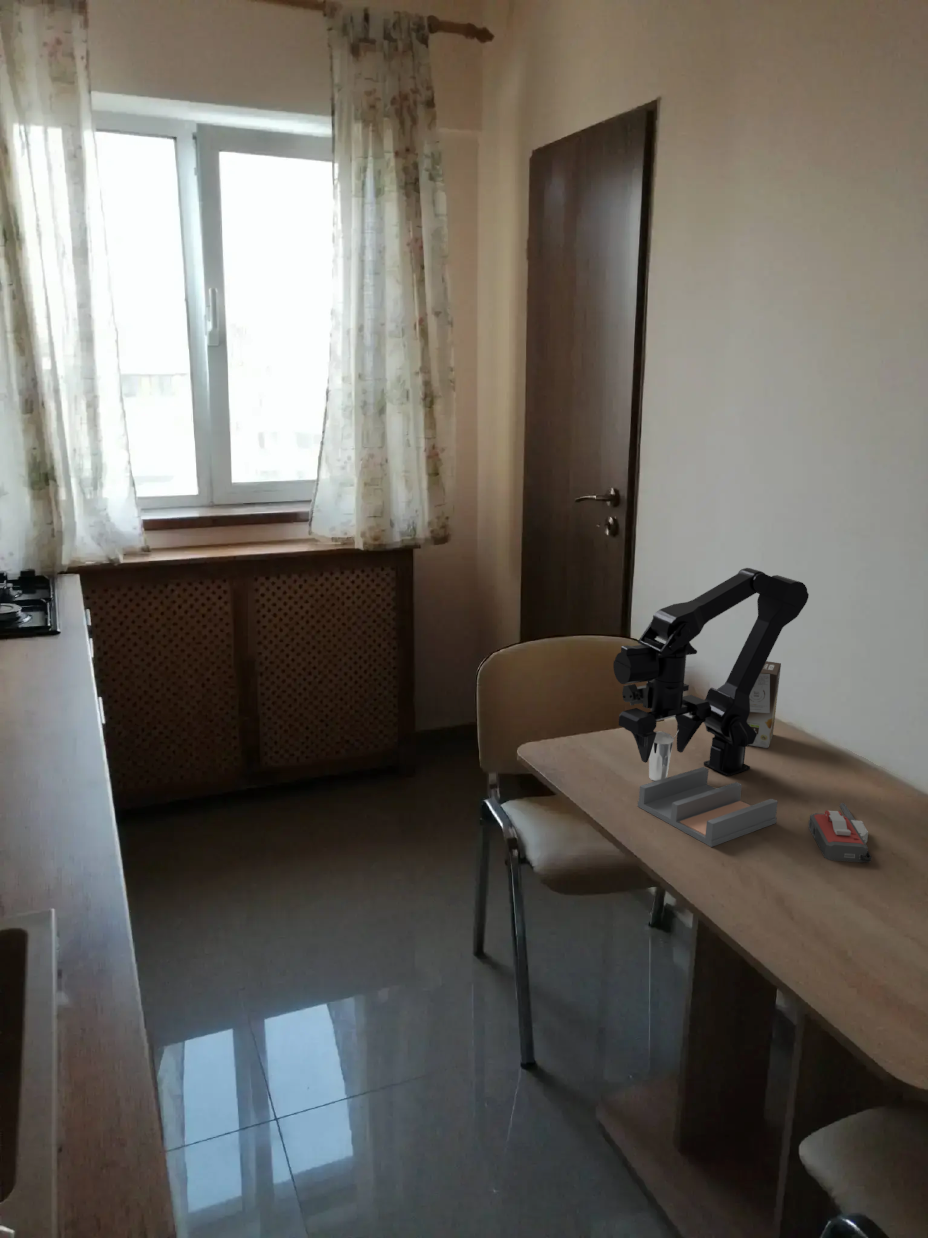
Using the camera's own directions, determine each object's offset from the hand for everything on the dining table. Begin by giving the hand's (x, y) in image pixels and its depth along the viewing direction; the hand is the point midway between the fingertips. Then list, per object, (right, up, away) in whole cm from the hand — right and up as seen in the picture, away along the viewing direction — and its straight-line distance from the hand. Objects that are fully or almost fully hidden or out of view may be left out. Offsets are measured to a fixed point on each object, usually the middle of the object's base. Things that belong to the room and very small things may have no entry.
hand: (662, 756), depth 173 cm
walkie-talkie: (+25, -11, -19) cm, 33 cm away
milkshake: (0, -4, +1) cm, 5 cm away
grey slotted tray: (+5, -8, -13) cm, 16 cm away
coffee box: (+24, 0, +21) cm, 32 cm away
